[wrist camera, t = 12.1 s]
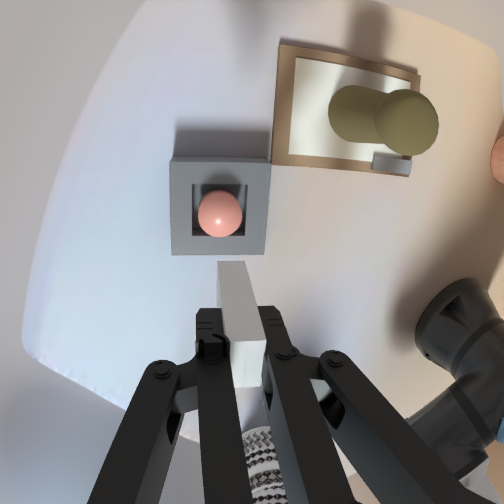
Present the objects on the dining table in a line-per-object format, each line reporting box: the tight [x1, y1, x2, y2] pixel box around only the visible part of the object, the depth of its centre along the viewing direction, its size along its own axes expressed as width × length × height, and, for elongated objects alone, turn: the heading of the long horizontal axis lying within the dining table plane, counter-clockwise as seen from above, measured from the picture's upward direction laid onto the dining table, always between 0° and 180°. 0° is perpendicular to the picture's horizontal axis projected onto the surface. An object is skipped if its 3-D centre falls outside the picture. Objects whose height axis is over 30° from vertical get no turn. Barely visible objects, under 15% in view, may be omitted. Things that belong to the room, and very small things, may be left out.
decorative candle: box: [242, 426, 288, 504], centre depth 41 cm, size 9×9×25 cm
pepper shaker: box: [328, 85, 439, 156], centre depth 24 cm, size 6×6×11 cm
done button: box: [198, 189, 242, 237], centre depth 29 cm, size 4×4×2 cm
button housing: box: [169, 157, 272, 255], centre depth 31 cm, size 9×9×3 cm
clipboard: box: [270, 44, 421, 177], centre depth 29 cm, size 16×12×1 cm
